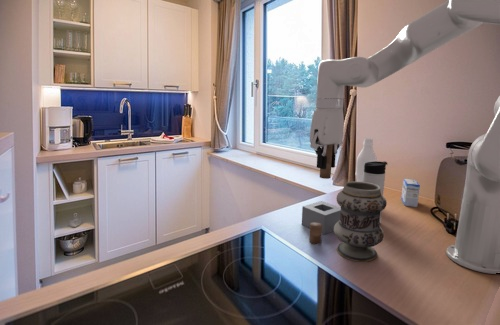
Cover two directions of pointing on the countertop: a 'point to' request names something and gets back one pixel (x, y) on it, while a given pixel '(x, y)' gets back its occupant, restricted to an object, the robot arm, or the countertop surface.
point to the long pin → (327, 172)
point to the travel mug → (375, 174)
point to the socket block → (321, 215)
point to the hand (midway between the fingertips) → (325, 167)
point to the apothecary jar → (359, 220)
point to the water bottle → (364, 158)
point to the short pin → (315, 233)
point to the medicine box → (410, 192)
